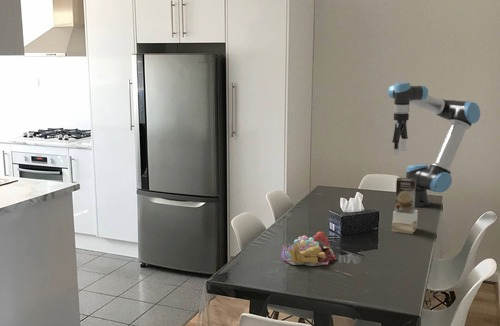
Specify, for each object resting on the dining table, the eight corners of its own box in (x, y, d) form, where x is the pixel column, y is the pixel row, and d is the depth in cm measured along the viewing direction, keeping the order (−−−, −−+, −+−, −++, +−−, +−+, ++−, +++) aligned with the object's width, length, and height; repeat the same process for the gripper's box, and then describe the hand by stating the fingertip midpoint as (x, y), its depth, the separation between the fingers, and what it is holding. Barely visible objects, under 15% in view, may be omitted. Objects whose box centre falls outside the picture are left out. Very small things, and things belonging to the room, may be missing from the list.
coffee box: (394, 212, 259) (395, 180, 256) (396, 208, 265) (396, 177, 262) (414, 213, 256) (415, 181, 253) (415, 209, 262) (416, 178, 259)
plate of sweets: (341, 267, 218) (341, 245, 216) (284, 269, 217) (284, 247, 215) (328, 245, 243) (328, 226, 241) (277, 247, 241) (277, 228, 239)
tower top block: (399, 216, 268) (400, 207, 267) (417, 219, 263) (417, 210, 262) (392, 221, 261) (393, 211, 260) (410, 224, 256) (410, 214, 255)
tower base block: (396, 226, 270) (397, 216, 269) (416, 228, 265) (417, 219, 264) (391, 231, 261) (391, 221, 260) (412, 234, 256) (412, 224, 255)
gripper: (400, 110, 287) (398, 148, 291) (387, 114, 266) (385, 156, 270) (414, 110, 283) (412, 149, 287) (402, 115, 262) (400, 157, 266)
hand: (399, 153), depth 278 cm, fingers open, 13 cm apart
